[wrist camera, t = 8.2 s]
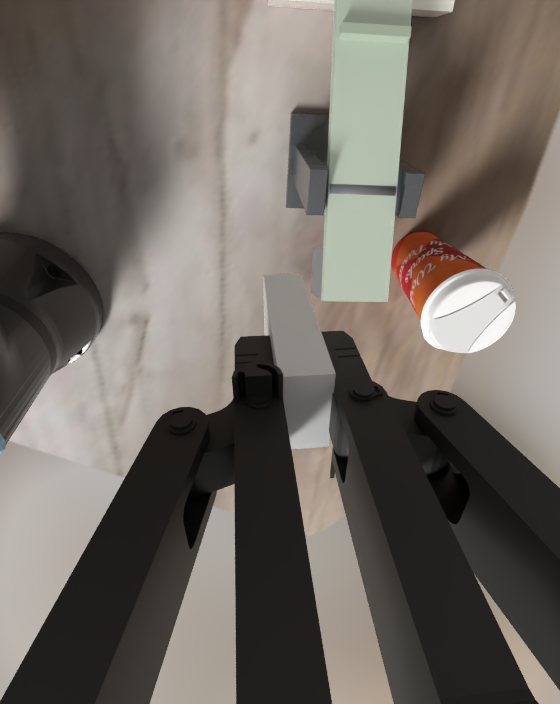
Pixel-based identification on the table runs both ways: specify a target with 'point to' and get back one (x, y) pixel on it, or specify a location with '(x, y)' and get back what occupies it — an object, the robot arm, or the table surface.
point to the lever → (363, 149)
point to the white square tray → (425, 4)
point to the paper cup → (452, 294)
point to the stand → (312, 170)
